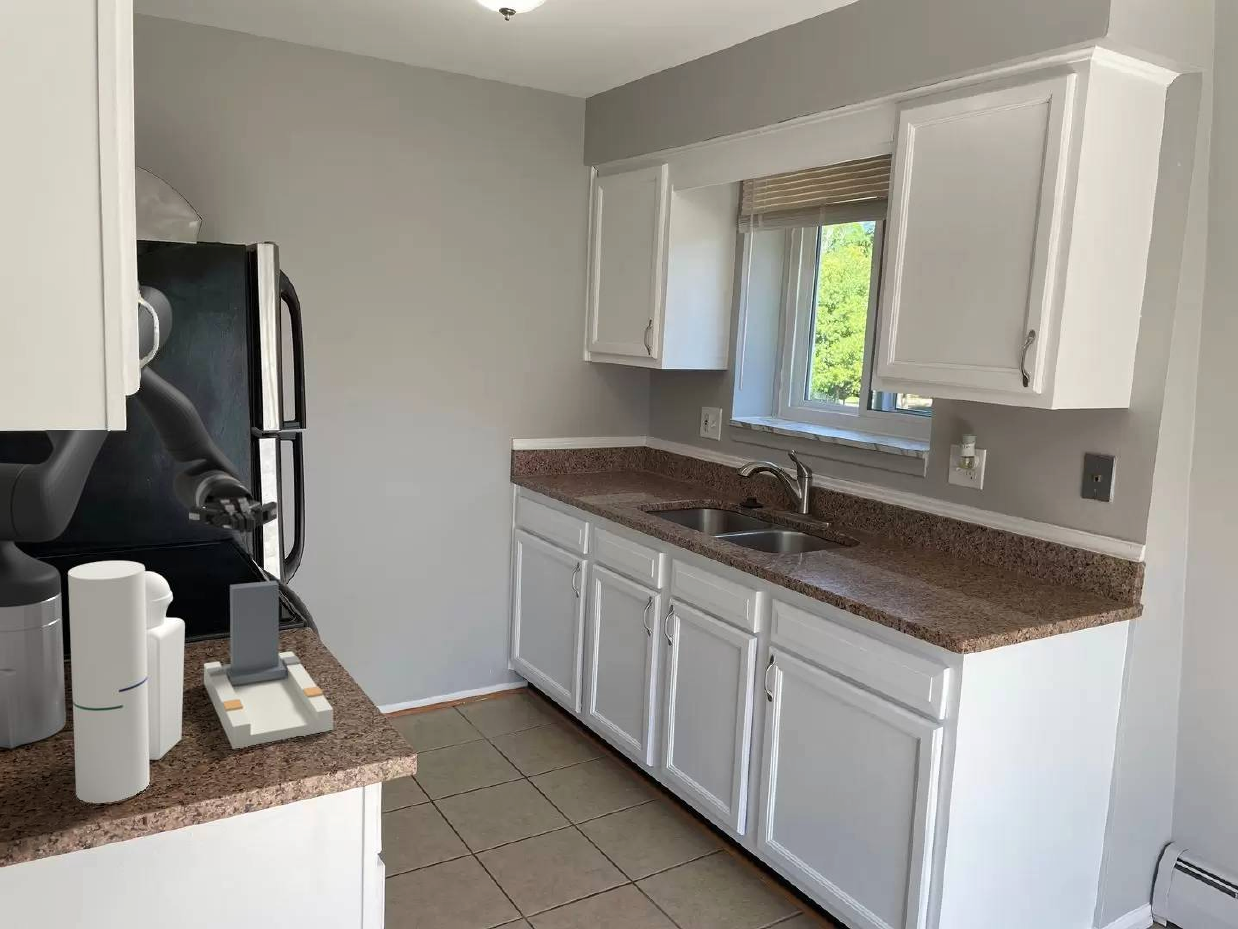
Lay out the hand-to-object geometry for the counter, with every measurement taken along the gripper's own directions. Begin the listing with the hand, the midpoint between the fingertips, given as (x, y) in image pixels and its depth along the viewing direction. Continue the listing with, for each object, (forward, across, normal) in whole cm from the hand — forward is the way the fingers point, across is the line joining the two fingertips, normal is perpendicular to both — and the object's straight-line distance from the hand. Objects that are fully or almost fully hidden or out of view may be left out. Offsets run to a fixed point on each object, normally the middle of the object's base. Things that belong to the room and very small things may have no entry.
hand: (245, 525), depth 132 cm
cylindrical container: (+28, -19, +22) cm, 40 cm away
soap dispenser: (+19, -15, +22) cm, 33 cm away
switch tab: (+6, 0, +20) cm, 21 cm away
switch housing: (+13, 0, +22) cm, 26 cm away
